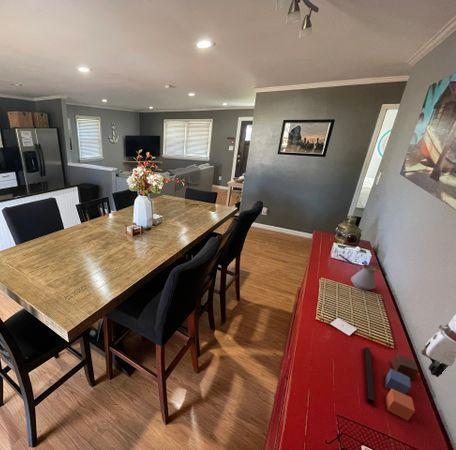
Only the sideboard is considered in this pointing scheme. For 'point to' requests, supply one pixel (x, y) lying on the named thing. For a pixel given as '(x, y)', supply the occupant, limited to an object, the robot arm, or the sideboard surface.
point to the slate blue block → (397, 381)
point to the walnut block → (405, 366)
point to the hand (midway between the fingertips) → (433, 372)
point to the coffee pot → (363, 276)
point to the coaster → (343, 326)
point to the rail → (369, 376)
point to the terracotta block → (400, 404)
